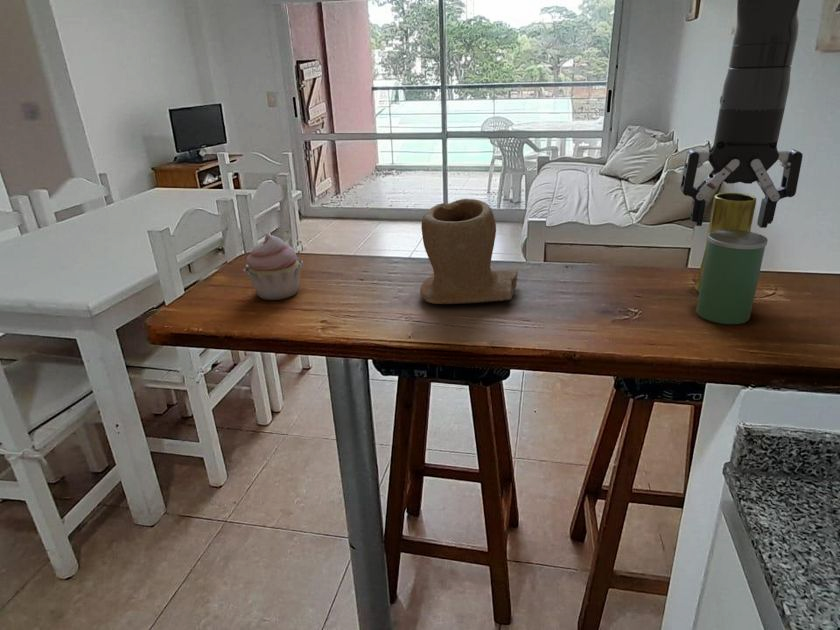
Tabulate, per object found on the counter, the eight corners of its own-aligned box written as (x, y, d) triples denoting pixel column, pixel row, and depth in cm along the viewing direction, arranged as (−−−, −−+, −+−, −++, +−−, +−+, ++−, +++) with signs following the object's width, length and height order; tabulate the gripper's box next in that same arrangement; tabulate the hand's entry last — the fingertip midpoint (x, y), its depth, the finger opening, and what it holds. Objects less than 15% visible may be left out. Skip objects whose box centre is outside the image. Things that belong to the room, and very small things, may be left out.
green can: (743, 305, 81) (759, 230, 76) (756, 326, 75) (774, 246, 70) (691, 302, 82) (703, 228, 78) (700, 323, 76) (714, 244, 72)
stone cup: (417, 317, 82) (413, 214, 76) (422, 285, 93) (418, 193, 86) (524, 315, 81) (528, 211, 75) (516, 284, 92) (519, 190, 85)
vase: (704, 280, 90) (720, 189, 84) (746, 290, 86) (766, 195, 80) (688, 292, 86) (704, 197, 80) (731, 302, 82) (751, 204, 76)
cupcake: (246, 288, 95) (235, 230, 91) (302, 279, 98) (294, 222, 93) (250, 309, 87) (238, 246, 83) (311, 298, 90) (303, 237, 85)
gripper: (698, 108, 73) (679, 231, 80) (825, 105, 70) (794, 234, 77) (688, 103, 80) (671, 217, 87) (803, 100, 76) (777, 219, 83)
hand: (729, 225), depth 82 cm, fingers open, 8 cm apart
